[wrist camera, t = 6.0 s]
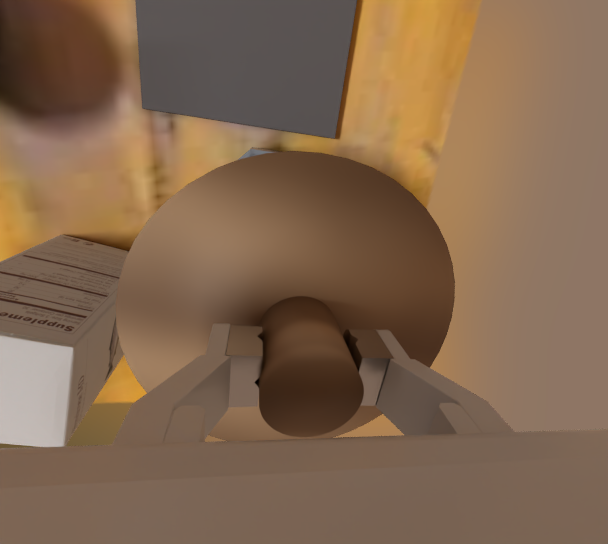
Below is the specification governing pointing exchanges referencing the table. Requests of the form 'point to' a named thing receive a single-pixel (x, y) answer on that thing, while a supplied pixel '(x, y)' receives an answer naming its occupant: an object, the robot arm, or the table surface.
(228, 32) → the mat
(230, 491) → the robot arm
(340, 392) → the lid
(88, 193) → the table surface
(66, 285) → the supplement box
